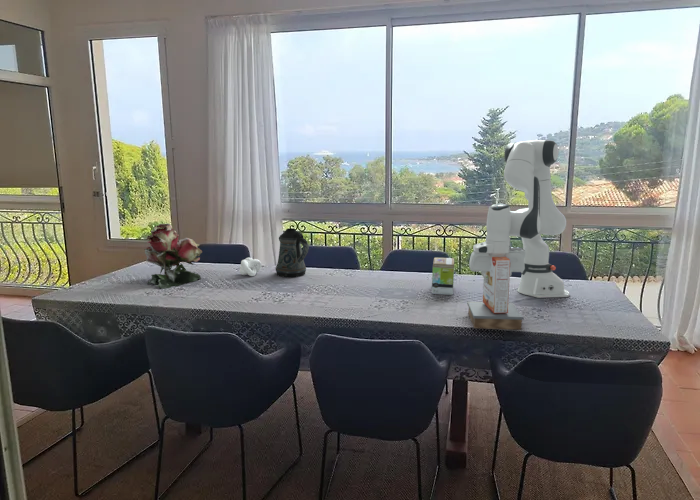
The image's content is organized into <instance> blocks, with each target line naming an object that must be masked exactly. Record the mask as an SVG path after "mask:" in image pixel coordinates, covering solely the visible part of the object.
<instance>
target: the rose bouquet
mask: <svg viewBox="0 0 700 500" xmlns="http://www.w3.org/2000/svg"><path fill="white" fill-rule="evenodd" d="M153 229H154V230H150V233H151V235H147V236H146V239H145V240H146V243H147V244H148V246H147V247H146V249H144V254H145V256H146V260H145V261H146V262H147V263H151V264H154V265H156V266H158V267H160V273H154V274H151V275H150V276H151V279H149V281H147V282H146V285H149V284H154V287H157V288H159V289H161V290H164V289H166V290H167V289H170V288H172V287H175V288H176V287H179V286H182V285H183V286H184V285H185V284H188V283H193V282H196V281H198V280H199V279H202V276H201V275H200V274H199V273H196V272H192V271H188V270H187V269H186V268H185V266H184V265H183V263H186V264H188V265H191V266H194V265H195V266H197V264H195V263H197V262H199V261H200V259H201V256H200V255H201V254H202V253H203V250H202V249H200V248H199V247H198V246H200V244H199V243H196V241H194V239H191V238H189V237H185V238H182V239H179V235H180V234H179V233H178V234H177V231H176V230H175V229H174V228H173V226H172V224H170V223H167V222H166V223H159V224H158V225H154V227H153ZM182 262H183V263H182ZM193 262H195V263H193ZM173 267H174V268H173ZM172 268H173V269H172ZM163 270H164V272H163ZM162 272H163V274H161V273H162Z"/></svg>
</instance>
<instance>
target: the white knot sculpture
mask: <svg viewBox="0 0 700 500" xmlns="http://www.w3.org/2000/svg"><path fill="white" fill-rule="evenodd" d="M261 269H262V262H261V260H259V259H258V258H254V259H253V258H252V257H246V258H245V259H242V260H241V261H240V266H239V273H240V275H241V276H246V275H248V276H249V277H255V276H256V275H257V273H259V271H260V270H261Z"/></svg>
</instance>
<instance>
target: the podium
mask: <svg viewBox="0 0 700 500" xmlns="http://www.w3.org/2000/svg"><path fill="white" fill-rule="evenodd" d="M467 306H468V313H467V314H468V316H469V319H470V321H471V323H472V325H473V328H474V329H486V330H487V329H488V330H491V329H492V330H493V329H494V330H522V324H523V323H522V322H523V321H524V319H525V317H524V315H523V314H522V313H521V312H520V310H519V309H518V307H517V306H516V305H515V303H514V302H508V313H493V312H492V311H491V310H490V309H489V308H488V307H487V306H486V305H485V304H484V303H483V301H467Z"/></svg>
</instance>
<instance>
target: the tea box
mask: <svg viewBox="0 0 700 500" xmlns="http://www.w3.org/2000/svg"><path fill="white" fill-rule="evenodd" d="M432 263H433V264H432V273H431V274H432V275H431V276H432V277H431V294H432V295H443V296H444V295H446V296H452V295H453V294H454V293H453V292H454V282H455V281H454V279H455V278H454V277H455V258H454V257H434V258H433V262H432Z"/></svg>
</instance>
